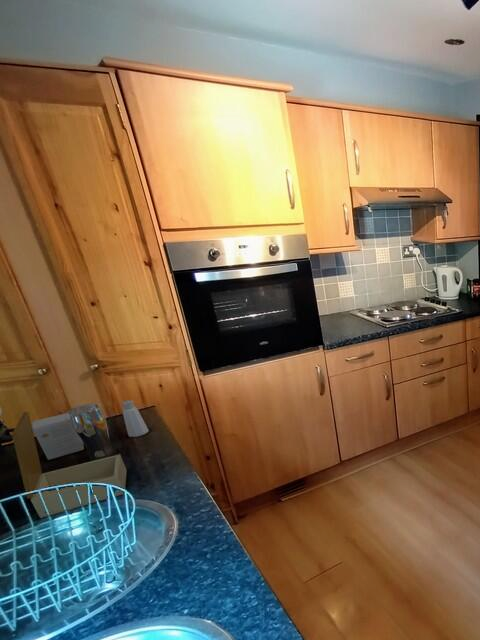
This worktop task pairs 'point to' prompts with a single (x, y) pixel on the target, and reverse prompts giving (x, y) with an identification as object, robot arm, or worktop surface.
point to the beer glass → (92, 430)
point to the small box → (57, 436)
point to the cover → (25, 452)
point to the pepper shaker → (133, 420)
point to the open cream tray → (93, 472)
